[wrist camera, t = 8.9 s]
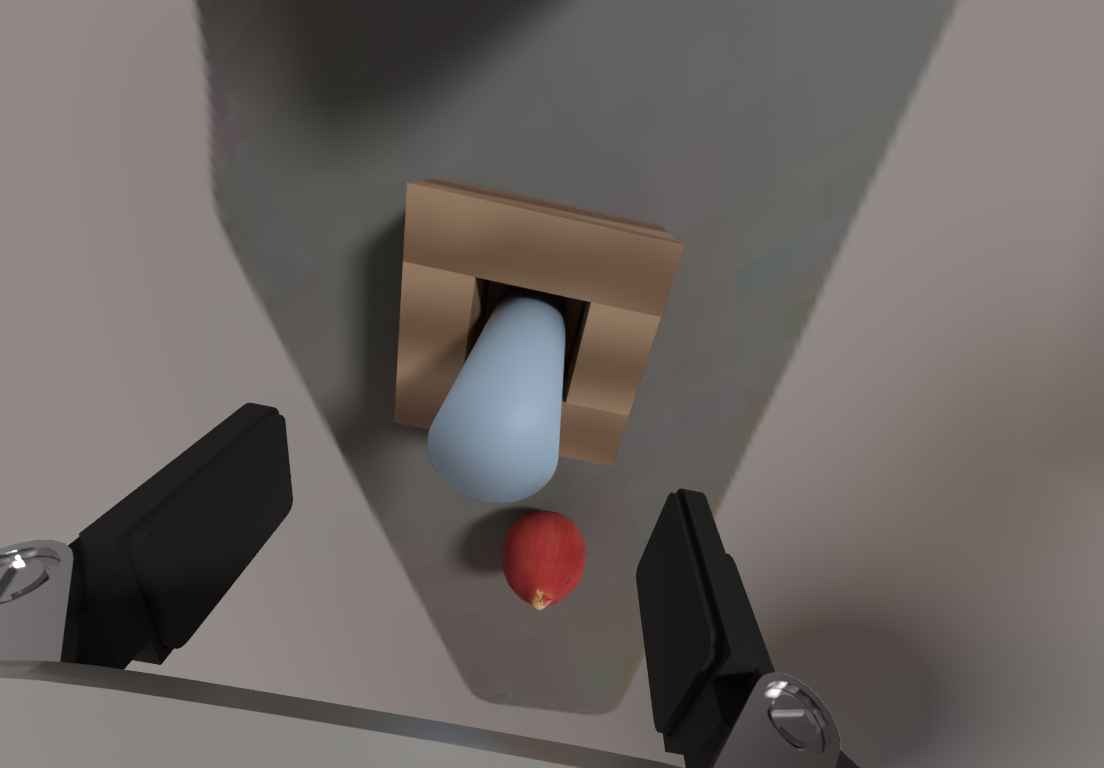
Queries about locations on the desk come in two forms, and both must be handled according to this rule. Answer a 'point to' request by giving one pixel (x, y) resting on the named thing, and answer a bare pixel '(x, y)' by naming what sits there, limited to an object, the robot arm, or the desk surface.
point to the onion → (543, 558)
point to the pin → (505, 403)
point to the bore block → (540, 264)
